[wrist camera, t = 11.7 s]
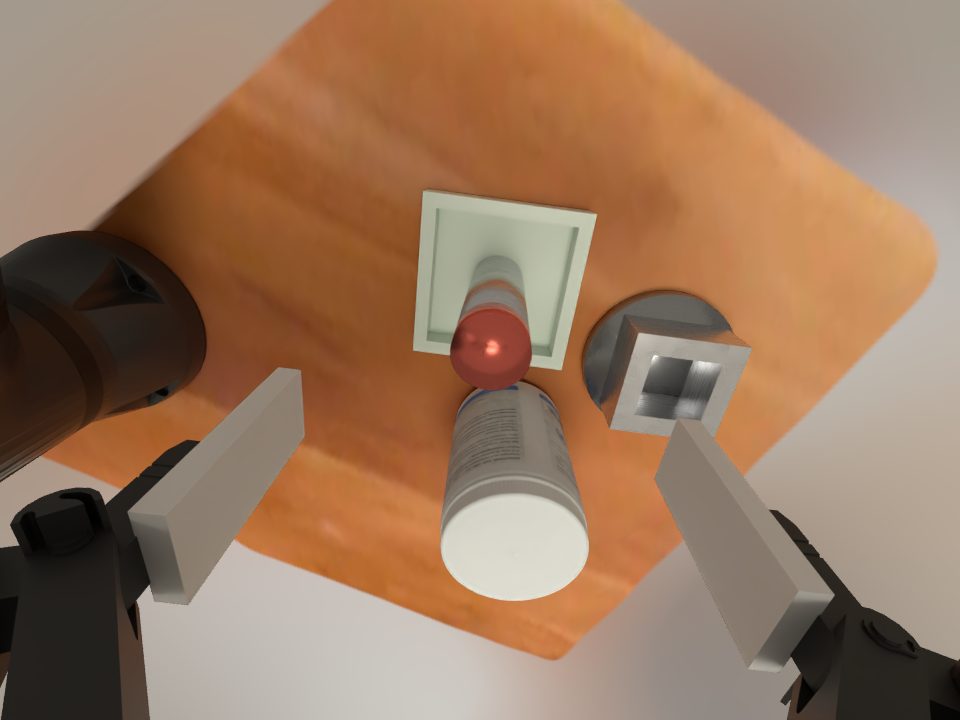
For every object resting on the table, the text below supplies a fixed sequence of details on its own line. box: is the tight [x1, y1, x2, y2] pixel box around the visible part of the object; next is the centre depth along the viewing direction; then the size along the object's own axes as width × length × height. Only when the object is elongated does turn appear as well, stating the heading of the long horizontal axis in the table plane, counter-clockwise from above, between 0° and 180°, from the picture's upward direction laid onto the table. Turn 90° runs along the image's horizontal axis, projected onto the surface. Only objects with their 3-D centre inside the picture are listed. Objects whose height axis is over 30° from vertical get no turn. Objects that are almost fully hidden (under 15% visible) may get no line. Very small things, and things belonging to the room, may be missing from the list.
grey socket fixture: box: [582, 290, 752, 439], centre depth 34 cm, size 12×12×6 cm
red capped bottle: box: [450, 255, 532, 390], centre depth 27 cm, size 4×4×14 cm
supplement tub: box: [441, 381, 589, 601], centre depth 33 cm, size 10×10×15 cm
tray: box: [413, 189, 597, 370], centre depth 33 cm, size 12×12×2 cm
